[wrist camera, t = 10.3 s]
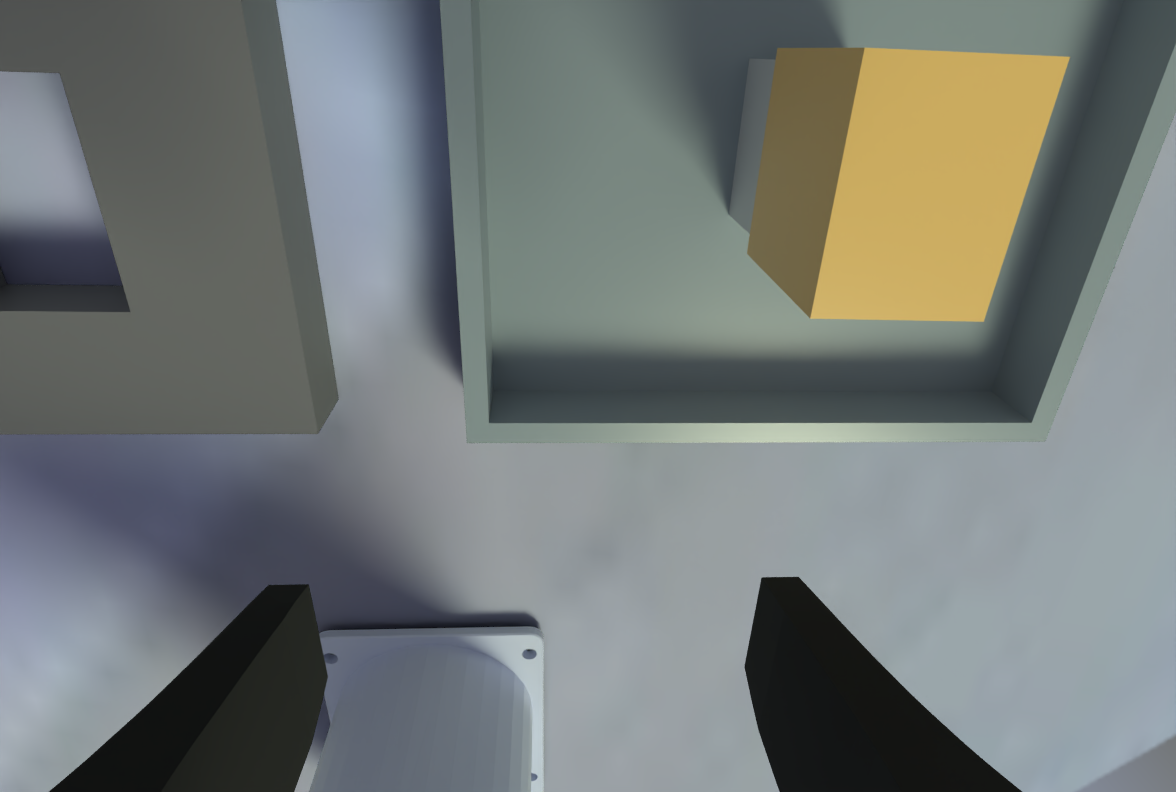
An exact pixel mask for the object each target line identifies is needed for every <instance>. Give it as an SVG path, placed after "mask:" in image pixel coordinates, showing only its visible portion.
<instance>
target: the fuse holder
mask: <svg viewBox="0 0 1176 792" xmlns="http://www.w3.org/2000/svg"><path fill="white" fill-rule="evenodd" d="M0 71H9V72H43V73H60V76H61V79H62V82H63V86H64V89H65V92H66V96H67V99H68V102H69V106H70V109H71V113H72V116H73V119H74V123H75V126H76V129H77V133H78V136H79V139H80V143H81V146H82V150H83V153H84V156H85V160H86V163H87V166H88V170H89V173H90V177H91V180H92V183H93V187H94V190H95V193H96V197H97V200H98V203H99V207H100V210H101V214H102V217H103V220H104V224H105V227H106V230H107V234H108V237H109V241H110V244H111V247H112V251H113V254H114V257H115V261H116V264H117V267H118V271H119V274H120V278H121V281H122V284H123V286H104V285H14V284H6V281H5V278H4V276H3V273H2V271H1V268H0V434H318V433H319V431H320V430H321V428H322V426H323V425H324V423H325V421H326V420H327V418H328V416H329V415H330V413H331V411H332V410H333V408H334V406H335V404H336V403H337V401H338V392H337V386H336V380H335V373H334V367H333V360H332V354H331V348H330V341H329V335H328V329H327V322H326V316H325V310H324V303H323V297H322V291H321V284H320V278H319V272H318V265H317V259H316V253H315V246H314V240H313V234H312V227H311V221H310V215H309V208H308V202H307V196H306V189H305V183H304V177H303V170H302V164H301V157H300V151H299V145H298V138H297V132H296V126H295V119H294V113H293V107H292V100H291V94H290V88H289V81H288V75H287V69H286V62H285V56H284V50H283V43H282V37H281V31H280V24H279V18H278V12H277V5H276V0H0Z"/></svg>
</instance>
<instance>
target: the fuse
mask: <svg viewBox="0 0 1176 792" xmlns="http://www.w3.org/2000/svg"><path fill="white" fill-rule="evenodd" d="M1069 59H1070V57H1064V56H1042V55H1019V54H997V53H975V52H952V51H930V50H908V49H886V48H777V54H776V60H774V59H751V58H749V65H748V73H747V80H746V88H745V95H744V103H743V111H742V118H741V126H740V133H739V141H738V148H737V156H736V163H735V171H734V179H733V186H732V194H731V201H730V209H729V216H731V217H732V218H733V219H734V220H735V221H736V222H737V223H738V224H739V225H740V226H741V227H743V228H744V229H745V230H746V231H747V232H748V233H749V234H750V236H749V242H748V249H747V254H748V255H749V256H750V257H751V258H752V260H753V261H754V262H755V263H756V264H757V265H758V266H759V267H760V268H761V269H762V270H763V271H764V272H765V273H766V274H767V275H768V276H769V277H770V278H771V279H772V280H773V281H774V282H775V283H776V284H777V285H778V286H779V287H780V288H781V289H782V290H783V291H784V292H785V293H786V294H787V295H788V296H789V297H790V298H791V299H792V300H793V302H794V303H795V304H796V305H797V306H798V307H799V308H800V309H801V310H802V311H803V312H804V313H805V314H806V315H807V316H808V317H809V318H810V319H856V320H913V321H970V322H984V319H985V316H986V313H987V310H988V307H989V304H990V301H991V298H992V295H993V291H994V288H995V285H996V282H997V279H998V276H999V273H1000V270H1001V267H1002V264H1003V261H1004V258H1005V255H1006V252H1007V249H1008V246H1009V242H1010V239H1011V236H1012V233H1013V230H1014V227H1015V224H1016V221H1017V218H1018V215H1019V212H1020V209H1021V206H1022V203H1023V200H1024V197H1025V193H1026V190H1027V187H1028V184H1029V181H1030V178H1031V175H1032V172H1033V169H1034V166H1035V163H1036V160H1037V157H1038V154H1039V151H1040V148H1041V144H1042V141H1043V138H1044V135H1045V132H1046V129H1047V126H1048V123H1049V120H1050V117H1051V114H1052V111H1053V108H1054V105H1055V102H1056V99H1057V95H1058V92H1059V89H1060V86H1061V83H1062V80H1063V77H1064V74H1065V71H1066V68H1067V65H1068V62H1069Z"/></svg>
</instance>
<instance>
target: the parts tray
mask: <svg viewBox="0 0 1176 792" xmlns="http://www.w3.org/2000/svg"><path fill="white" fill-rule="evenodd" d="M440 13H441V30H442V46H443V62H444V78H445V95H446V111H447V127H448V144H449V160H450V176H451V192H452V209H453V225H454V241H455V257H456V274H457V290H458V306H459V322H460V339H461V355H462V371H463V388H464V404H465V420H466V436H467V443H690V442H1045V441H1046V438H1047V436H1048V433H1049V431H1050V428H1051V426H1052V423H1053V421H1054V418H1055V415H1056V413H1057V410H1058V408H1059V405H1060V403H1061V400H1062V398H1063V395H1064V393H1065V390H1066V388H1067V385H1068V383H1069V380H1070V378H1071V375H1072V373H1073V370H1074V367H1075V365H1076V362H1077V360H1078V357H1079V355H1080V352H1081V350H1082V347H1083V345H1084V342H1085V340H1086V337H1087V335H1088V332H1089V330H1090V327H1091V325H1092V322H1093V320H1094V317H1095V314H1096V312H1097V309H1098V307H1099V304H1100V302H1101V299H1102V297H1103V294H1104V292H1105V289H1106V287H1107V284H1108V282H1109V279H1110V277H1111V274H1112V272H1113V269H1114V266H1115V264H1116V261H1117V259H1118V256H1119V254H1120V251H1121V249H1122V246H1123V244H1124V241H1125V239H1126V236H1127V234H1128V231H1129V229H1130V226H1131V224H1132V221H1133V219H1134V216H1135V213H1136V211H1137V208H1138V206H1139V203H1140V201H1141V198H1142V196H1143V193H1144V191H1145V188H1146V186H1147V183H1148V181H1149V178H1150V176H1151V173H1152V171H1153V168H1154V165H1155V163H1156V160H1157V158H1158V155H1159V153H1160V150H1161V148H1162V145H1163V143H1164V140H1165V138H1166V135H1167V133H1168V130H1169V128H1170V125H1171V123H1172V120H1173V118H1174V115H1175V112H1176V0H440ZM777 48H886V49H908V50H930V51H952V52H975V53H997V54H1019V55H1042V56H1064V57H1070V59H1069V62H1068V65H1067V68H1066V71H1065V74H1064V77H1063V80H1062V83H1061V86H1060V89H1059V92H1058V95H1057V99H1056V102H1055V105H1054V108H1053V111H1052V114H1051V117H1050V120H1049V123H1048V126H1047V129H1046V132H1045V135H1044V138H1043V141H1042V144H1041V148H1040V151H1039V154H1038V157H1037V160H1036V163H1035V166H1034V169H1033V172H1032V175H1031V178H1030V181H1029V184H1028V187H1027V190H1026V193H1025V197H1024V200H1023V203H1022V206H1021V209H1020V212H1019V215H1018V218H1017V221H1016V224H1015V227H1014V230H1013V233H1012V236H1011V239H1010V242H1009V246H1008V249H1007V252H1006V255H1005V258H1004V261H1003V264H1002V267H1001V270H1000V273H999V276H998V279H997V282H996V285H995V288H994V291H993V295H992V298H991V301H990V304H989V307H988V310H987V313H986V316H985V319H984V322H970V321H913V320H856V319H810V318H809V317H808V316H807V315H806V314H805V313H804V312H803V311H802V310H801V309H800V308H799V307H798V306H797V305H796V304H795V303H794V302H793V300H792V299H791V298H790V297H789V296H788V295H787V294H786V293H785V292H784V291H783V290H782V289H781V288H780V287H779V286H778V285H777V284H776V283H775V282H774V281H773V280H772V279H771V278H770V277H769V276H768V275H767V274H766V273H765V272H764V271H763V270H762V269H761V268H760V267H759V266H758V265H757V264H756V263H755V262H754V261H753V260H752V258H751V257H750V256H749V255H748V254H747V249H748V242H749V236H750V234H749V233H748V232H747V231H746V230H745V229H744V228H743V227H741V226H740V225H739V224H738V223H737V222H736V221H735V220H734V219H733V218H732V217H731V216H729V209H730V201H731V194H732V186H733V179H734V171H735V163H736V156H737V148H738V141H739V133H740V126H741V118H742V111H743V103H744V95H745V88H746V80H747V73H748V65H749V58H751V59H774V60H776V54H777Z"/></svg>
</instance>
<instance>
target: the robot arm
mask: <svg viewBox="0 0 1176 792" xmlns="http://www.w3.org/2000/svg"><path fill="white" fill-rule="evenodd" d="M526 649H533V650H531V651H528V650H526ZM329 653H331V654H334V655H331V654H329ZM745 671H746V676H747V681H748V685H749V690H750V695H751V700H752V704H753V708H754V712H755V717H756V721H757V725H758V730H759V733H760V736H761V739H762V742H763V745H764V748H765V751H766V753H767V756H768V759H769V762H770V765H771V768H772V771H773V774H774V777H775V780H776V783H777V786H778V788H779V791H780V792H1022V791H1021V790H1019V789H1018V788H1017V787H1016V786H1014V785H1013V784H1012V783H1011V782H1010V781H1008V780H1007V779H1006V778H1005V777H1003V776H1002V775H1001V774H1000V773H999V772H997V771H996V770H995V769H994V768H992V767H991V766H990V765H989V764H988V763H986V762H985V761H984V760H983V759H982V758H980V757H979V756H978V755H977V754H976V753H975V752H974V751H972V750H971V749H970V748H969V747H968V746H967V745H965V744H964V743H963V742H962V741H961V740H960V739H959V738H958V737H957V736H955V735H954V734H953V733H952V732H951V731H950V730H949V729H948V728H947V727H946V726H945V725H943V724H942V723H941V722H940V721H939V720H938V719H937V718H936V717H935V716H934V715H932V714H931V713H930V712H929V711H928V710H927V709H926V708H925V707H924V706H923V705H922V704H921V703H920V702H919V701H918V700H916V699H915V698H914V697H913V696H912V695H911V694H910V693H909V692H908V691H907V690H906V689H905V688H904V687H903V686H902V685H901V684H900V683H899V682H898V681H897V680H896V679H895V678H894V677H893V676H892V675H891V674H890V673H889V672H888V671H887V670H886V669H885V668H884V667H883V666H882V665H881V664H880V663H879V662H878V661H877V660H876V659H875V658H874V657H873V656H872V655H871V654H870V652H869V651H868V650H867V649H866V648H865V647H864V646H863V645H862V644H861V643H860V642H859V641H858V640H857V639H856V638H855V637H854V636H853V635H852V634H851V633H850V631H849V630H848V629H847V628H846V627H845V626H844V625H843V624H842V623H841V622H840V621H839V620H838V619H837V618H836V617H835V615H834V614H833V613H832V612H831V611H830V610H829V609H828V608H827V607H826V606H825V605H824V604H823V603H822V601H821V600H820V599H819V598H818V597H817V596H816V595H815V594H814V593H813V592H812V591H811V590H810V589H809V588H808V587H807V585H806V584H805V583H804V582H803V581H802V580H801V579H800V578H799V577H764V578H762V579H761V584H760V589H759V594H758V599H757V605H756V610H755V615H754V620H753V625H752V631H751V636H750V641H749V646H748V651H747V657H746V662H745ZM323 696H325V701H326V706H327V710H328V715H329V719H330V724H331V725H330V728H329V731H328V734H327V737H326V741H325V744H324V747H323V750H322V753H321V756H320V759H319V762H318V766H317V769H316V772H315V775H314V778H313V781H312V784H311V787H310V790H309V792H543V791H544V753H543V633H542V632H541V631H540V629H538V628H536V627H530V626H524V627H472V628H420V629H369V630H328V631H323V632H321V633H319V631H318V626H317V622H316V617H315V612H314V607H313V603H312V598H311V593H310V588H309V584H306V585H268V586H267V587H266V588H265V589H264V590H263V591H262V592H261V593H260V594H259V595H258V596H257V597H256V598H255V599H254V600H253V601H252V602H251V603H250V604H249V605H248V606H247V607H246V608H245V609H244V610H243V611H242V612H241V613H240V614H239V615H238V616H237V617H236V618H235V619H234V620H233V621H232V622H231V623H230V624H229V625H228V626H227V627H226V628H225V629H224V630H223V631H222V632H221V633H220V634H219V635H218V636H217V637H216V638H215V639H214V640H213V641H212V642H211V643H210V644H209V645H208V646H207V647H206V648H205V649H204V650H203V651H202V652H201V653H200V654H199V655H198V656H197V657H196V658H195V659H194V660H193V661H192V662H191V663H190V664H189V665H188V666H187V667H186V668H185V669H184V670H183V671H182V672H181V673H180V674H179V675H178V676H177V677H176V678H175V679H174V680H173V681H172V682H171V683H169V684H168V685H167V686H166V687H165V688H164V689H163V690H162V691H161V692H160V693H159V694H158V695H157V696H156V697H155V698H154V699H153V700H152V701H151V702H150V703H149V704H148V705H147V706H146V707H144V708H143V709H142V710H141V711H140V712H139V713H138V714H137V715H136V716H135V717H134V718H132V719H131V720H130V721H129V722H128V723H127V724H126V725H125V726H124V727H122V728H121V729H120V730H119V731H118V732H117V733H116V734H115V735H114V736H112V737H111V738H110V739H109V740H108V741H107V742H106V743H105V744H104V745H102V746H101V747H100V748H99V749H98V750H97V751H96V752H95V753H94V754H92V755H91V756H90V757H89V758H88V759H87V760H86V761H85V762H83V763H82V764H81V765H80V766H79V767H78V768H76V769H75V770H74V771H73V772H72V773H71V774H69V775H68V776H67V777H66V778H65V779H64V780H62V781H61V782H60V783H59V784H58V785H56V786H55V787H54V788H53V789H52V790H50V791H49V792H294V790H295V788H296V785H297V782H298V780H299V777H300V774H301V771H302V769H303V766H304V763H305V760H306V758H307V755H308V752H309V749H310V746H311V744H312V740H313V736H314V732H315V728H316V725H317V721H318V717H319V713H320V709H321V705H322V700H323Z"/></svg>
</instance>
